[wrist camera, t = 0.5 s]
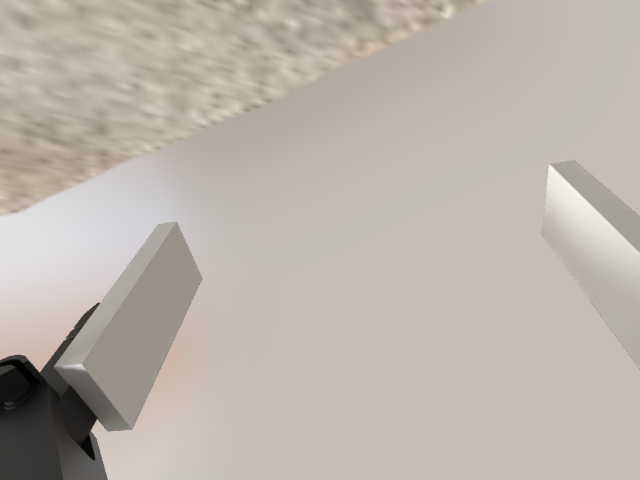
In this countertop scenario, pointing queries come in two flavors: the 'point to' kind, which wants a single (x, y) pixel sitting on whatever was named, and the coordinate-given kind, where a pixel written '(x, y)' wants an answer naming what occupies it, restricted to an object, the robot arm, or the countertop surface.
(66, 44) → the countertop surface
